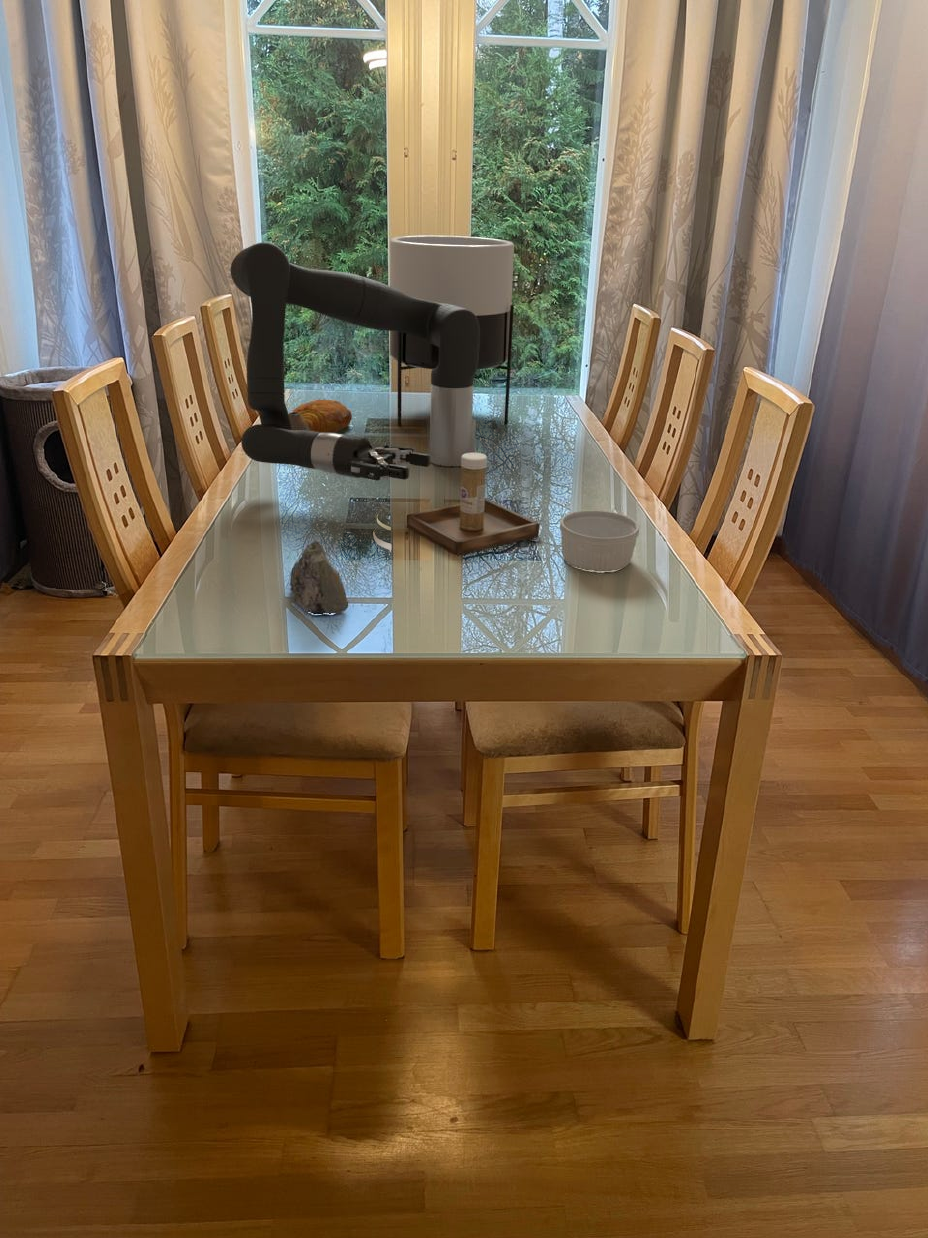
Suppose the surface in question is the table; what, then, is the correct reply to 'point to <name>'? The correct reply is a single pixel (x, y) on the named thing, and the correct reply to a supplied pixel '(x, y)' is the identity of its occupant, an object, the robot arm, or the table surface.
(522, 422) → the table surface
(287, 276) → the robot arm
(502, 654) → the table surface
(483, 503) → the sprinkles bottle
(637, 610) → the table surface
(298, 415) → the vase
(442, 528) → the walnut tray
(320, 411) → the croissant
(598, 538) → the ramekin
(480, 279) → the planter
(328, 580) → the mineral rock
